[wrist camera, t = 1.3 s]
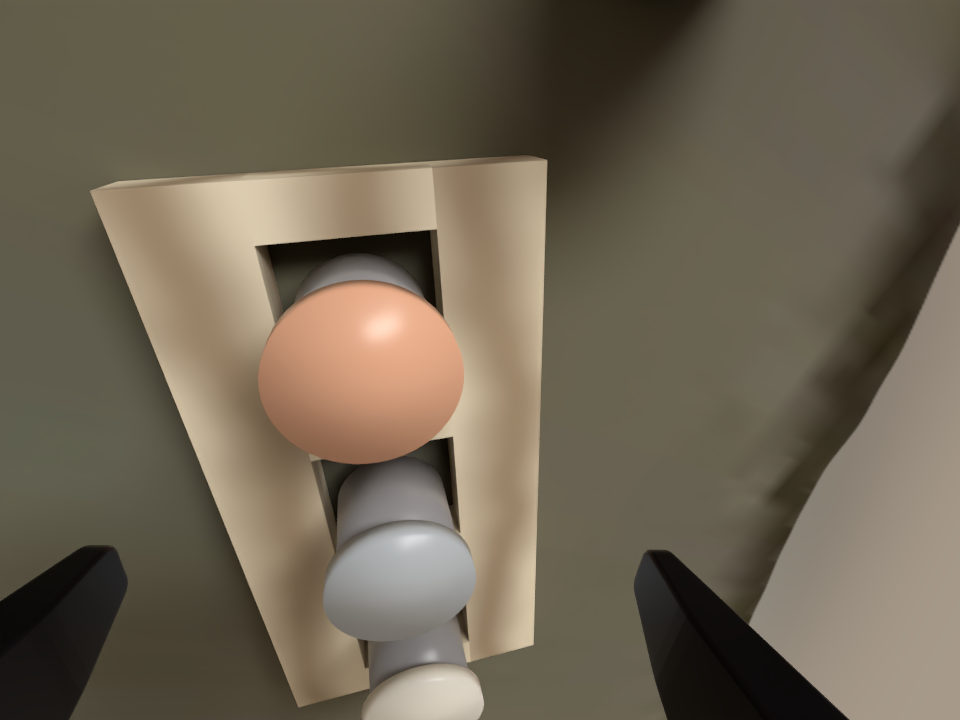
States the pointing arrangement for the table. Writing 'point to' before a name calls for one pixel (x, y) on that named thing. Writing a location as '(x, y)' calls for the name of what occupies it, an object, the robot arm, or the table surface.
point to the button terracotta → (360, 364)
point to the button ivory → (422, 678)
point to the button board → (243, 335)
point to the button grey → (396, 554)
